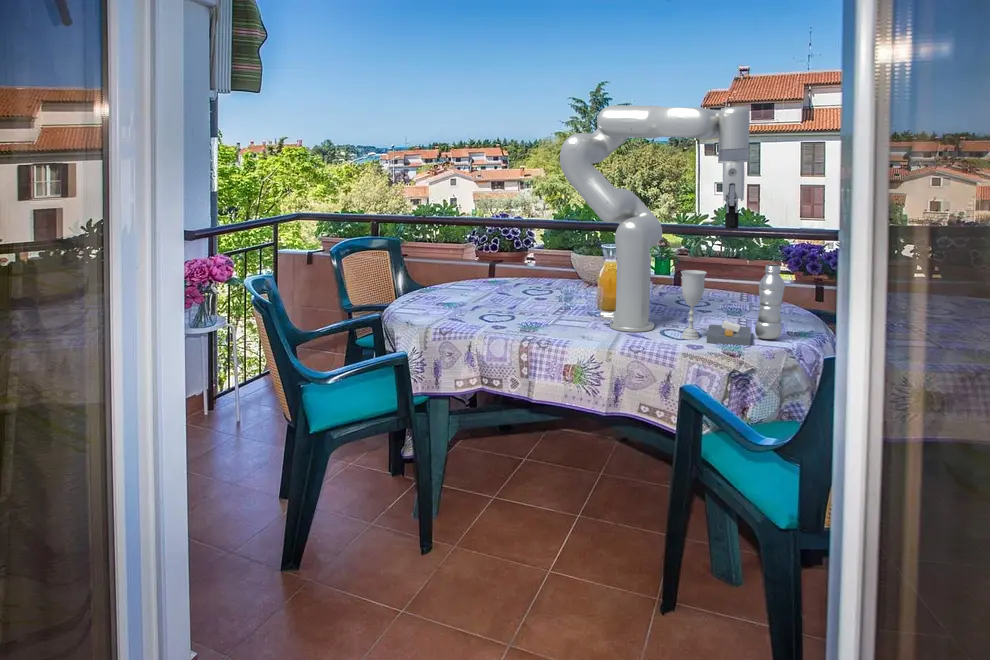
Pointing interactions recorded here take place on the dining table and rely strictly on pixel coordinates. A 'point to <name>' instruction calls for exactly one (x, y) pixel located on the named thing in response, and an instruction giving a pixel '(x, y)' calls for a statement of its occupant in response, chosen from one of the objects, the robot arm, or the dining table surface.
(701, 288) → the chalice
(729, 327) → the block
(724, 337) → the panel
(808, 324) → the dining table surface
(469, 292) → the dining table surface
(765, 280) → the plastic bottle
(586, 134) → the robot arm
